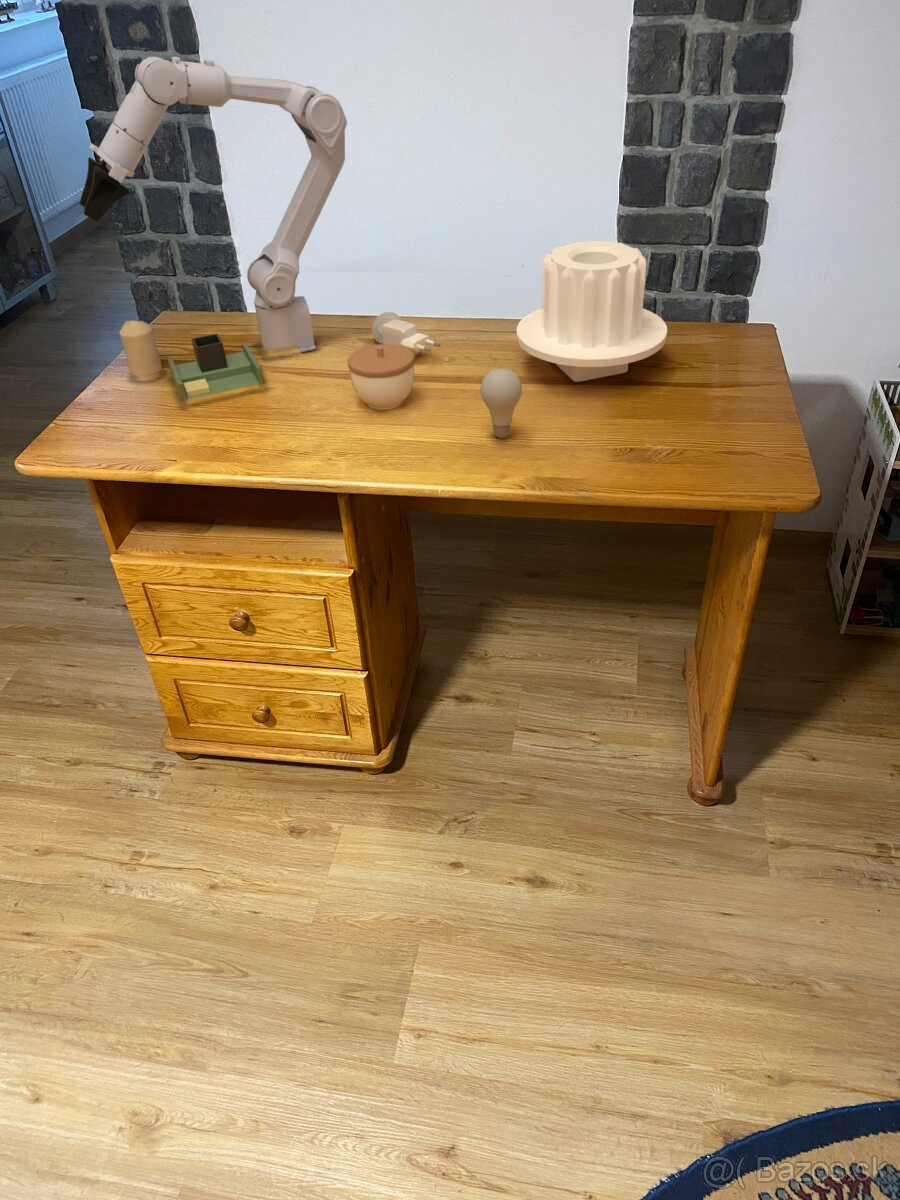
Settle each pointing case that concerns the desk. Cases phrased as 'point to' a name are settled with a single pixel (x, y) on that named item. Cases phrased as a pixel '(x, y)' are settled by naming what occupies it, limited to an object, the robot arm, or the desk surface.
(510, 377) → the lightbulb
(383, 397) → the trinket box
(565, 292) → the flanged gear
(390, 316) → the grey rounded piece
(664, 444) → the desk surface
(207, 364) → the holder
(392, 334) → the power adapter
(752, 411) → the desk surface
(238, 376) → the shelf
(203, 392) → the note pad
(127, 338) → the candle
